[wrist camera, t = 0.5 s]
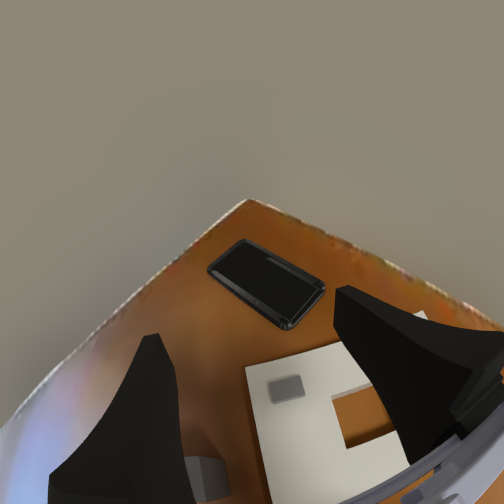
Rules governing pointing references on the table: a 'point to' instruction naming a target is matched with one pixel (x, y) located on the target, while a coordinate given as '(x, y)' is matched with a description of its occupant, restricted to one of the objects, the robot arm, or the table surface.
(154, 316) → the table surface
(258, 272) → the phone
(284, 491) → the socket plate
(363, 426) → the table surface
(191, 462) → the plug
